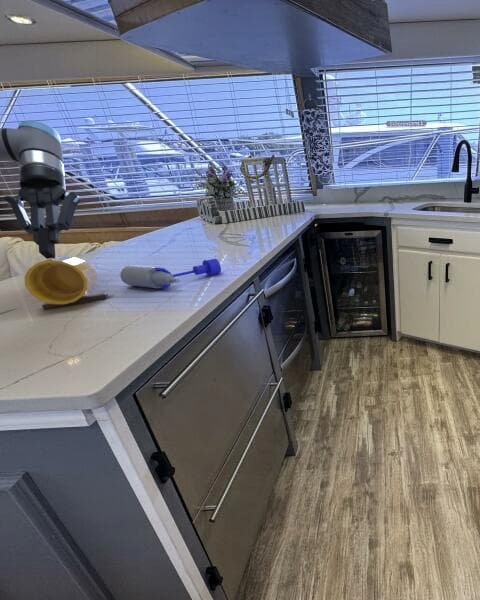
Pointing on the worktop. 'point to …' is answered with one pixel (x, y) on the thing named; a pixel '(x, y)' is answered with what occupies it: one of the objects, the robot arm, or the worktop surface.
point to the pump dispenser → (163, 274)
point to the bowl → (60, 280)
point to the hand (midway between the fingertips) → (47, 255)
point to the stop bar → (81, 300)
